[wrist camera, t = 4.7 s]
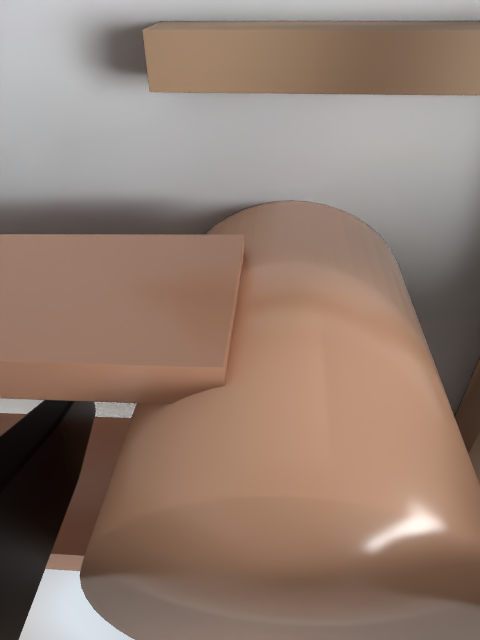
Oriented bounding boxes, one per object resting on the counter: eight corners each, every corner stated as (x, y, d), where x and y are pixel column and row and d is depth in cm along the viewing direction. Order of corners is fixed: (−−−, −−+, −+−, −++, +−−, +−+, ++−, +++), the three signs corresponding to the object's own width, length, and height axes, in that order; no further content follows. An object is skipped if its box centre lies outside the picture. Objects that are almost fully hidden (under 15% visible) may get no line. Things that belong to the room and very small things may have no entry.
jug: (478, 192, 11) (745, 508, 5) (420, 391, 15) (518, 703, 9) (-90, 195, 12) (-500, 446, 6) (2, 379, 16) (-179, 642, 10)
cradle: (679, 20, 9) (742, 30, 7) (464, 460, 17) (478, 497, 16) (160, 20, 9) (142, 29, 8) (201, 443, 18) (194, 478, 16)
